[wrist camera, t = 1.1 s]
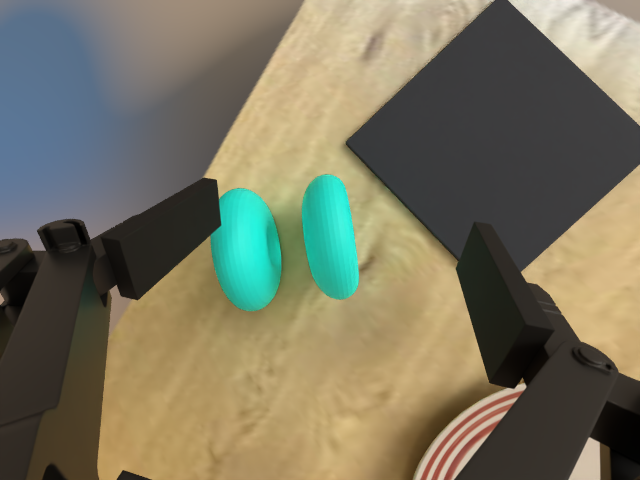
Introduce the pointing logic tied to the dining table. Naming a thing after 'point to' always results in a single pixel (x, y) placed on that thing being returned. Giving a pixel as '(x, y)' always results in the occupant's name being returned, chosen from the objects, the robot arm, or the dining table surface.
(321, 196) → the donuts
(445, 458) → the dinner plate
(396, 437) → the dining table surface
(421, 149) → the placemat
